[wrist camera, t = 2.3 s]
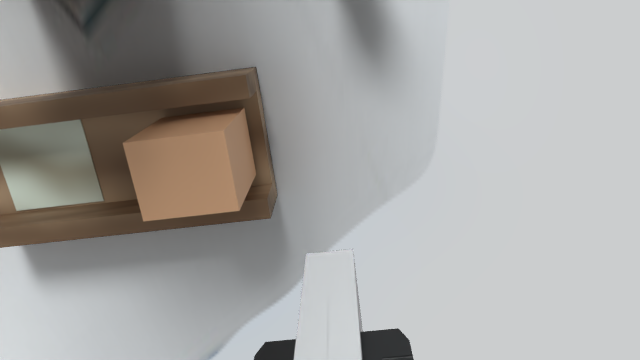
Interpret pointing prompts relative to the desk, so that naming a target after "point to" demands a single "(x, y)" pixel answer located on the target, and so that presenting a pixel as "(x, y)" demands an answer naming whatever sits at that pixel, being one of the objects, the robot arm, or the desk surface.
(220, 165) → the block
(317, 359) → the robot arm
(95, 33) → the desk surface
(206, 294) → the desk surface
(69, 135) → the chute
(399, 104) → the desk surface
